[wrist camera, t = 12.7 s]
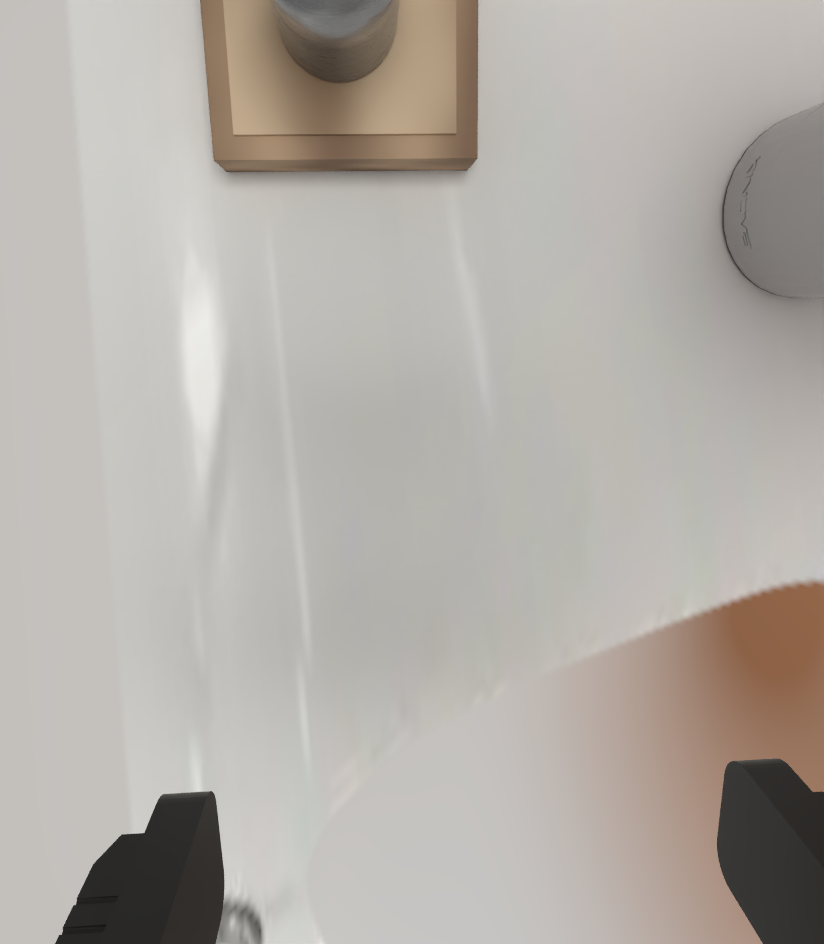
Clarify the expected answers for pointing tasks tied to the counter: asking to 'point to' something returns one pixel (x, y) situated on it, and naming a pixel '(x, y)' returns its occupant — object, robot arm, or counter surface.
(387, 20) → the grey lidded canister
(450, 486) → the counter surface
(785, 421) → the counter surface
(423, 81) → the stand
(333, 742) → the counter surface
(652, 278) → the counter surface
